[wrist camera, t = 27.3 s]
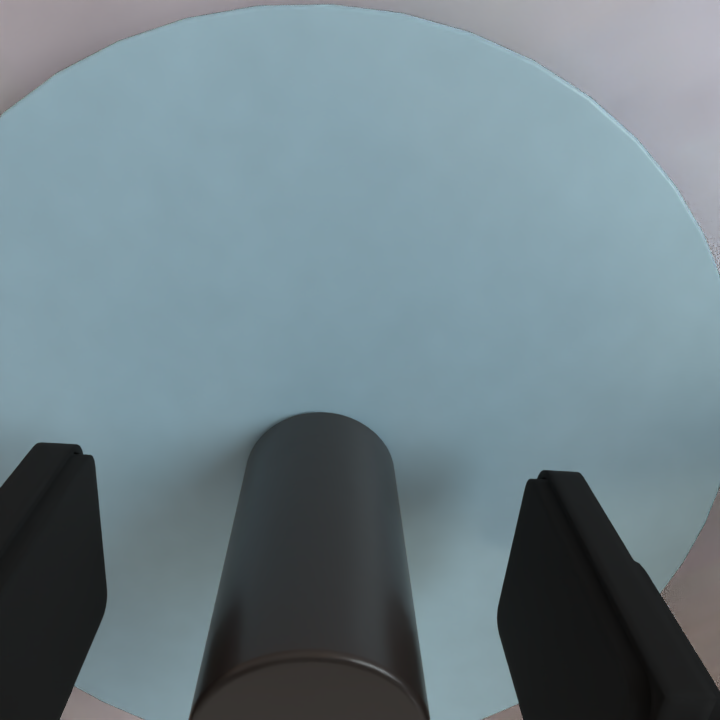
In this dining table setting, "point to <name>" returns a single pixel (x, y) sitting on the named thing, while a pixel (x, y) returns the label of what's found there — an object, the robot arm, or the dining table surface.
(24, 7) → the dining table surface
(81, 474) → the robot arm
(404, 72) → the lid
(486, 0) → the dining table surface
